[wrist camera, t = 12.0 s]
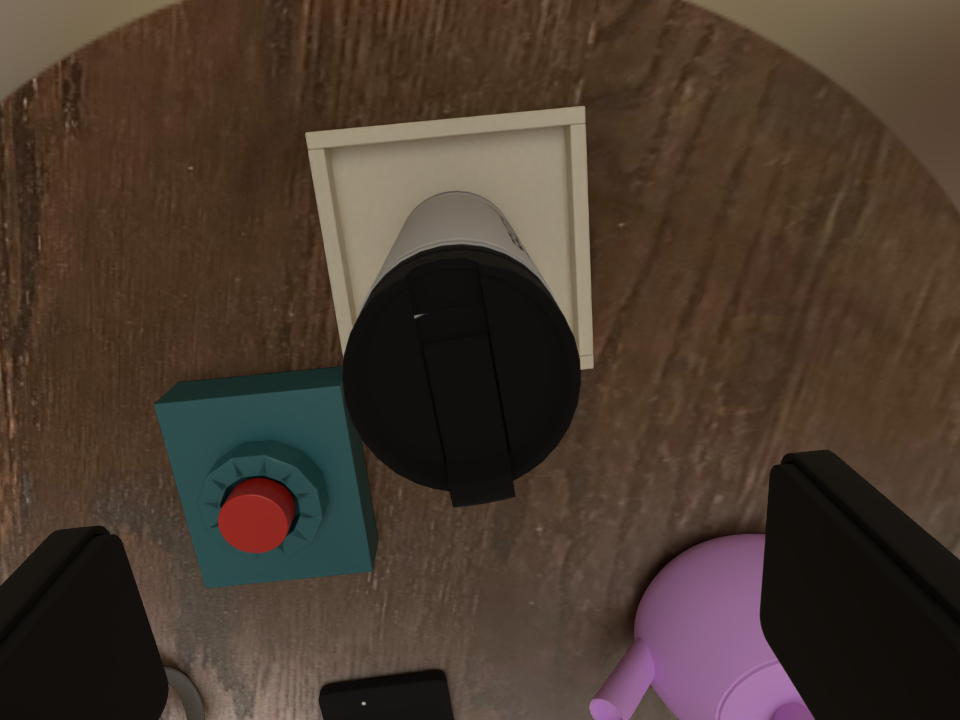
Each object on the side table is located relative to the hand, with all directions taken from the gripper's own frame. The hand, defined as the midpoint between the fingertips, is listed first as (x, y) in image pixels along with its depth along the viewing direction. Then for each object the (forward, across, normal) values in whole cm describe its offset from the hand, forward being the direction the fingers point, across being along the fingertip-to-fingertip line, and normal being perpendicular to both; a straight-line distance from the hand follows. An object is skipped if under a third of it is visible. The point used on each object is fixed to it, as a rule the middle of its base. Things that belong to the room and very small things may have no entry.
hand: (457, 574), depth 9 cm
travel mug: (+27, 0, 0) cm, 27 cm away
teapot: (+28, -16, +26) cm, 41 cm away
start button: (+23, +12, +12) cm, 29 cm away
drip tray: (+28, 0, 0) cm, 28 cm away
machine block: (+28, +12, +12) cm, 33 cm away
